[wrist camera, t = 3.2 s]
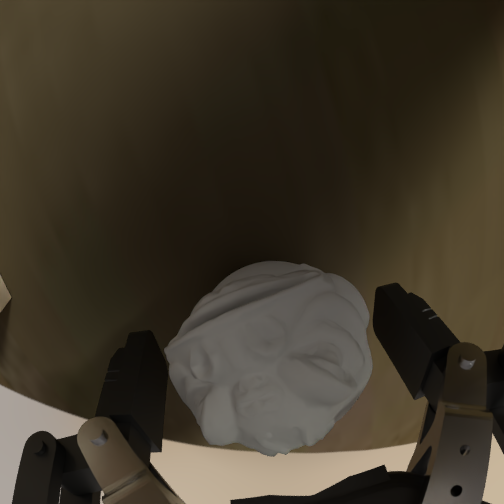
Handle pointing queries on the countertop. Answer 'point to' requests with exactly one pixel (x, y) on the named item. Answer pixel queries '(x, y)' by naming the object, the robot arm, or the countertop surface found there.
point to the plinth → (3, 295)
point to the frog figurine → (272, 356)
